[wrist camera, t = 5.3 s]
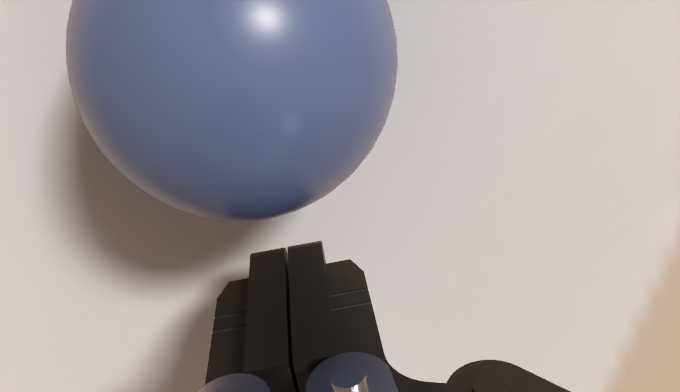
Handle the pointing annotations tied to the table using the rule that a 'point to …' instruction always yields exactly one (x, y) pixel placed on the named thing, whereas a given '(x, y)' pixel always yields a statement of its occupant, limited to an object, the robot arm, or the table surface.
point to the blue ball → (233, 96)
